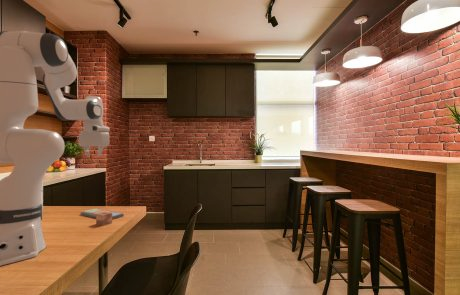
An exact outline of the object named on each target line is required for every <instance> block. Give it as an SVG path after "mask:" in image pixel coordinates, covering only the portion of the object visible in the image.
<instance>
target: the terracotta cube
mask: <svg viewBox="0 0 460 295" xmlns="http://www.w3.org/2000/svg"><path fill="white" fill-rule="evenodd" d="M95 220H96V222H95V224H96V225H98V226H107V225H111V224H113V219H112V213H109V212H103V213H98V214H96V218H95Z"/></svg>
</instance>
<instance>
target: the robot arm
mask: <svg viewBox="0 0 460 295" xmlns="http://www.w3.org/2000/svg"><path fill="white" fill-rule="evenodd" d="M35 67H36V68H41V69H42V71H43V72H44V74H42V75H43V76H42V84H43V87H44V89H45V92H46V94H47V96H48V99H49V100H50V102H51V104H52V107H53V111H54V114H55V116H56V117H57V118H58V119H59V120H61V121H83V128H82V129H81V131H80V133H79V135H78V146H79V147H83V150H84V155H85V156H90V155H91V151H90V147H97V149H98V150H97V151H96V156H99V157H101V156H102V155H103V150H104V147H108V146H109V145H110V133H109V132H110V130H111V128H110V127H109V126H106V125H104V121H103V117H104V106H103V105H104V104H103V99H102V98H101V97H100V96H97V95H92V94H90V95H86V96H85V98H83V99H69V98H67V97H64V94H63V92H62V90H61V88H64V87H67V86H70V85H71V84H72V83H74V82H75V80H76V79H77V77H78V70H77V67H76V64H75V62H74V61H73V59H72V57H71V55H70V54H69V51H68V46H67V43H66V42H65V41H64V40H63V39H62V38H61V37H60V36H59V35H56V34H53V33H48V32H45V33H44V32H35V31H27V30H13V31H7V30H3V31H0V164H14V165H13V169H12V170H11V172H10V174H9V175H8V176H5V177H3V178H1V179H0V267H1V266H4V265H7V264H12V263H16V262H20V261H24V260H28V259H31V258H35V257H37V256H38V254H39V253H40V252H41V251H43V250H44V249H45V248H46V247H47V244H46V241H45V238H44V235H43V233H44V232H43V228H42V221H43V217H42V204H41V186H42V180H43V181H44V177H45V174H46V172H47V171H48V170H49V168H50V167H51V165H53V164H54V163H55V162H57V161H58V160H60V158H61V157H62V156H63V154H64V152H65V148H66V147H65V146H66V145H65V141H64V139H63V137H62V135H60V134H59V132H56V131H52V130H49V129H44V128H43V129H42V128H24V125H25V122H26V120H27V118H28V117H30V116H33V115H34V114H36V112H37V111H38V110H39V96H38V84H37V82H38V81H37V75H36V70H35Z"/></svg>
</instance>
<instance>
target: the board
mask: <svg viewBox="0 0 460 295" xmlns="http://www.w3.org/2000/svg"><path fill="white" fill-rule="evenodd" d="M103 212H109V213H112V220H114V219H118V218H122V217H124V213H122V212H117V211H116V212H115V211H111V210H107V209H101V208H92V209H91V208H90V209H86V210H82V211H81V212H80V215H81V216H85V217H88V218H94V219H96V214H98V213H103Z"/></svg>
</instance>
